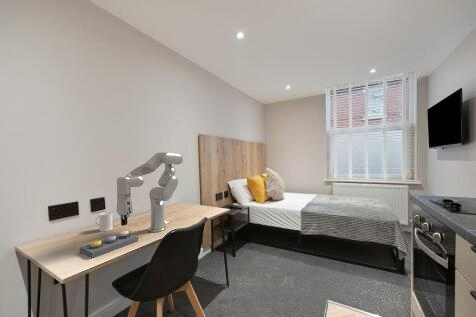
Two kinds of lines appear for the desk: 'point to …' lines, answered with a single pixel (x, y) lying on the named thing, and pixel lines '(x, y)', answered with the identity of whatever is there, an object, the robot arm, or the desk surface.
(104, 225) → the mug
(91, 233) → the desk surface
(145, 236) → the desk surface
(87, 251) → the control board
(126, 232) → the cream button
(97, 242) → the mustard button
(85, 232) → the desk surface
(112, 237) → the slate button
